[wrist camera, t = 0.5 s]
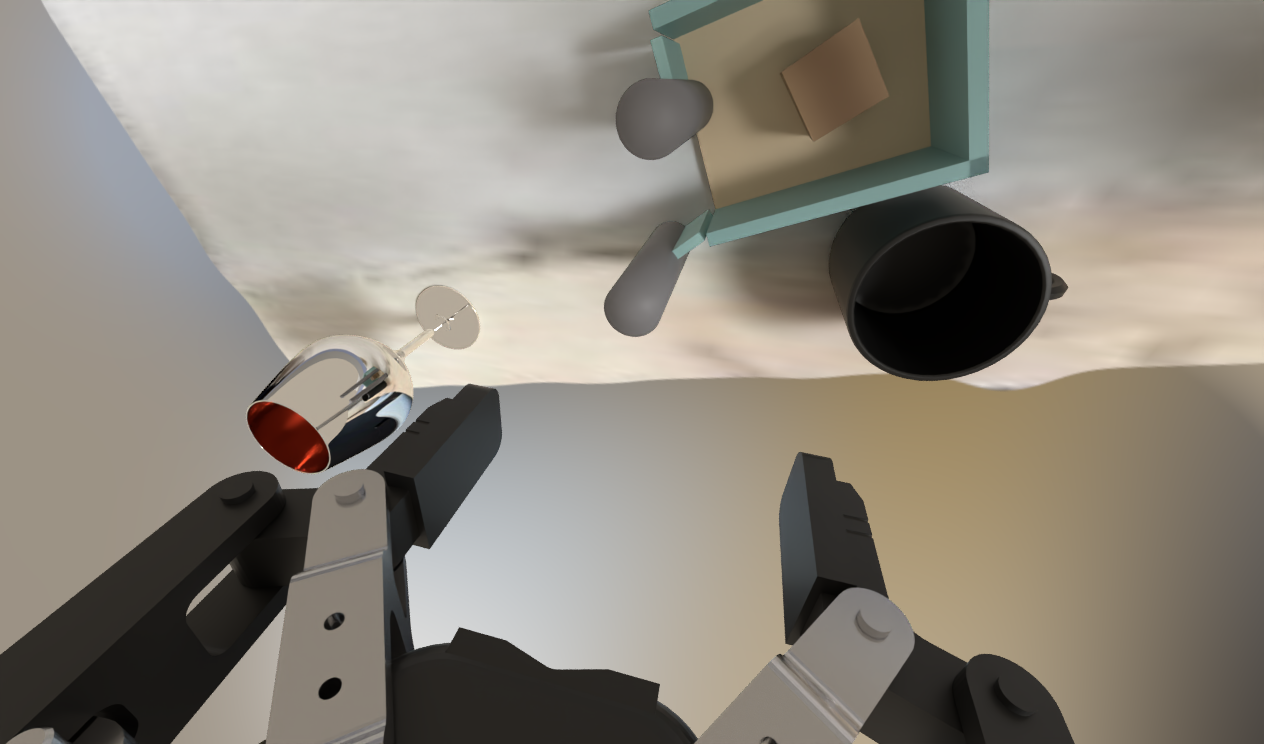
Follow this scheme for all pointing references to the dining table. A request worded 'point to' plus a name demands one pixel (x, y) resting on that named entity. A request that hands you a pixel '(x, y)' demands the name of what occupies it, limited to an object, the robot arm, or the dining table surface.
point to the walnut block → (835, 81)
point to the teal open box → (860, 148)
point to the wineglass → (351, 389)
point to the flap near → (663, 106)
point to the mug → (938, 284)
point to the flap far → (653, 276)
